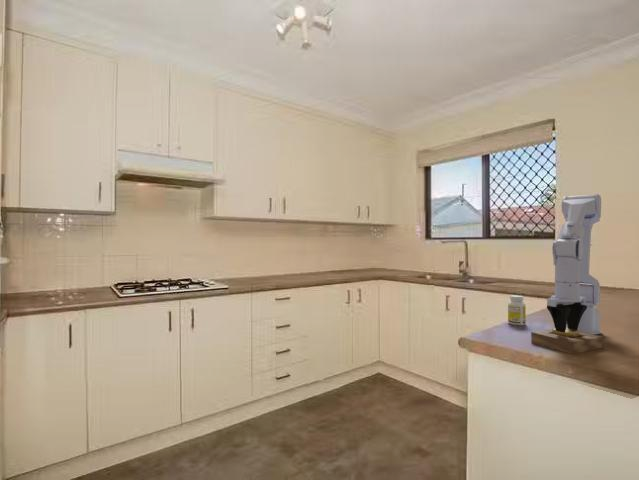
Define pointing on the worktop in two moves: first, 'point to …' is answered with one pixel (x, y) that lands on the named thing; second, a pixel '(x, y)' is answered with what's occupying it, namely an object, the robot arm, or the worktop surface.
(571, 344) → the brown wooden frame
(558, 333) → the wooden block
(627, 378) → the worktop surface
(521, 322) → the supplement bottle
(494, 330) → the worktop surface
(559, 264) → the robot arm
